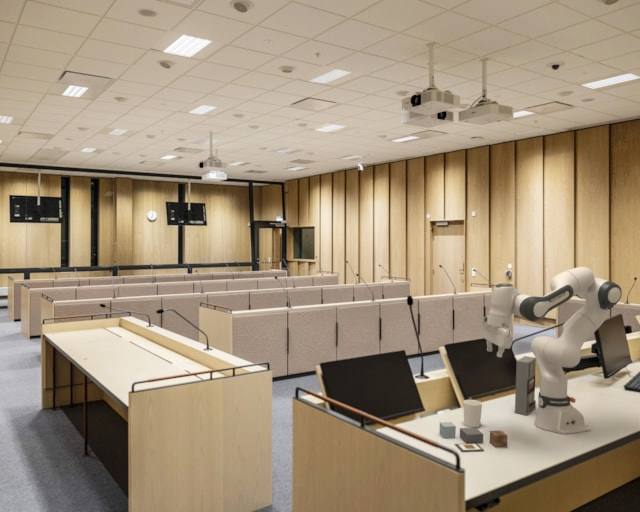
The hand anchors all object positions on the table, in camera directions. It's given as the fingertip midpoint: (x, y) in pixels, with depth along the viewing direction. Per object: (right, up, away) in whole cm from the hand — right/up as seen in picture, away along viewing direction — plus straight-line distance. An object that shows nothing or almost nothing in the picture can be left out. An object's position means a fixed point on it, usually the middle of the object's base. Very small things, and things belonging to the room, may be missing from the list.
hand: (494, 354), depth 221 cm
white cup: (-6, -34, +12) cm, 36 cm away
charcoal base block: (-12, -34, -6) cm, 37 cm away
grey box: (+26, -34, +32) cm, 53 cm away
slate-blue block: (-20, -34, -2) cm, 39 cm away
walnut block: (-2, -34, -11) cm, 36 cm away
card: (-15, -34, -15) cm, 40 cm away
